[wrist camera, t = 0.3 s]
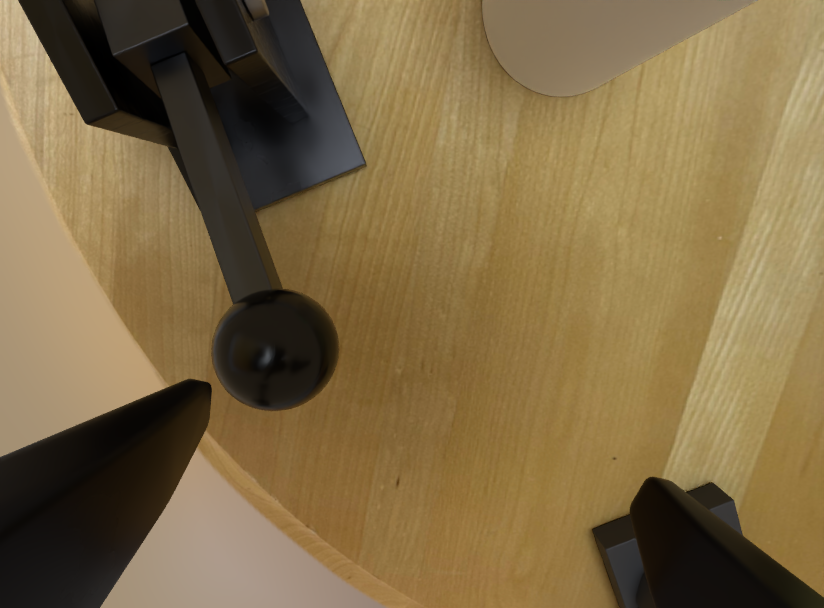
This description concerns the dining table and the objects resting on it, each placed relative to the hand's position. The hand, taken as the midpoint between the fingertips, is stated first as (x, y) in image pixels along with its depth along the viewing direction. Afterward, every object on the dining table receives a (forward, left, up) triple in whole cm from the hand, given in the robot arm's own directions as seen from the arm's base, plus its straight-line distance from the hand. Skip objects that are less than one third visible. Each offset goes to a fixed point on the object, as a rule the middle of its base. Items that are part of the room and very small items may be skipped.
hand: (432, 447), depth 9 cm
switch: (-3, +12, -15) cm, 19 cm away
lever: (-3, +6, -6) cm, 10 cm away
